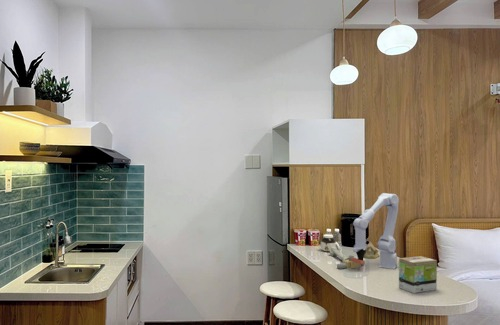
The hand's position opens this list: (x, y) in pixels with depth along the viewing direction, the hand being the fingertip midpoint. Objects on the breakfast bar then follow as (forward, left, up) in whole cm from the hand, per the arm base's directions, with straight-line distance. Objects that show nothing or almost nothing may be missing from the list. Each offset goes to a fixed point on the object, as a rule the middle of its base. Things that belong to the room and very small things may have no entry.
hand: (360, 262), depth 217 cm
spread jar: (+30, -38, -4) cm, 49 cm away
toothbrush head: (+18, -18, -5) cm, 26 cm away
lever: (+3, 0, 0) cm, 2 cm away
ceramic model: (+2, -37, -5) cm, 37 cm away
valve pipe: (+6, -3, -4) cm, 8 cm away
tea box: (-33, +21, -4) cm, 39 cm away
